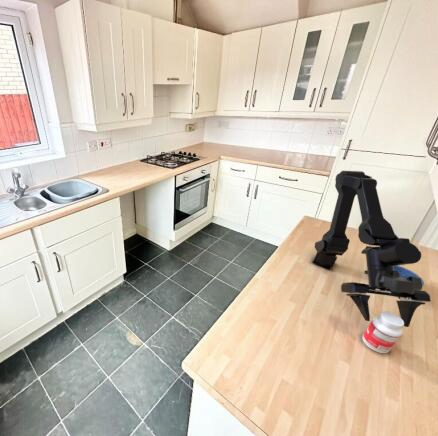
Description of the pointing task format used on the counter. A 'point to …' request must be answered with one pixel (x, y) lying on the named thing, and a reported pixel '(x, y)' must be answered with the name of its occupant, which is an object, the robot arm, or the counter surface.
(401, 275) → the bowl
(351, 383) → the counter surface
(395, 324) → the pill bottle
